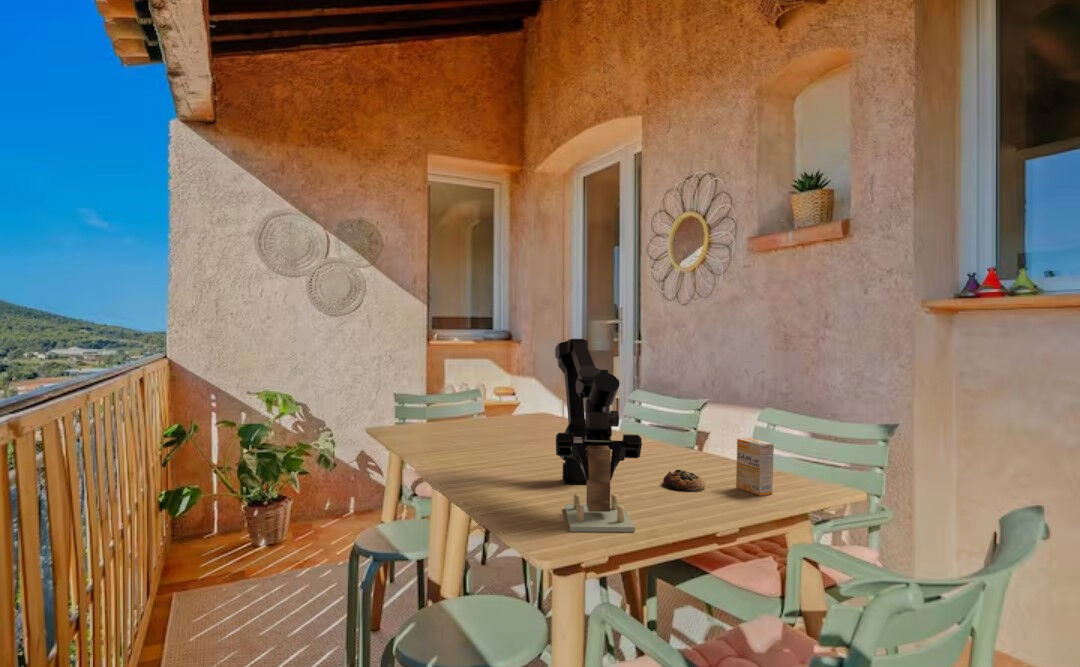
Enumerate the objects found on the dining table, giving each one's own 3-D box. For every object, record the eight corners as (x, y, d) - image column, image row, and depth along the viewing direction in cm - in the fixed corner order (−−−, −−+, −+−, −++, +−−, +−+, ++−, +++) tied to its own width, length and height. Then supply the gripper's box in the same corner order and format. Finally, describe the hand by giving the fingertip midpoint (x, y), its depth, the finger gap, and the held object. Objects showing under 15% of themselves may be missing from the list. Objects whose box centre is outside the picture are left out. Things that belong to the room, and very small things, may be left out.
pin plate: (622, 508, 128) (622, 491, 128) (634, 532, 113) (634, 512, 113) (565, 508, 128) (565, 490, 128) (570, 531, 113) (570, 511, 113)
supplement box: (735, 488, 147) (735, 438, 147) (748, 486, 149) (749, 437, 149) (759, 496, 139) (760, 444, 139) (773, 494, 141) (774, 442, 141)
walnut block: (606, 505, 123) (607, 445, 123) (609, 511, 118) (610, 449, 118) (586, 504, 123) (587, 445, 123) (588, 511, 118) (589, 449, 118)
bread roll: (655, 486, 147) (657, 467, 148) (673, 483, 156) (675, 465, 156) (695, 496, 140) (697, 476, 141) (712, 493, 149) (714, 474, 149)
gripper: (556, 396, 125) (554, 456, 114) (641, 398, 124) (646, 459, 113) (557, 425, 133) (554, 485, 122) (637, 427, 131) (641, 488, 121)
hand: (598, 479), depth 119 cm, fingers closed on walnut block, 4 cm apart
